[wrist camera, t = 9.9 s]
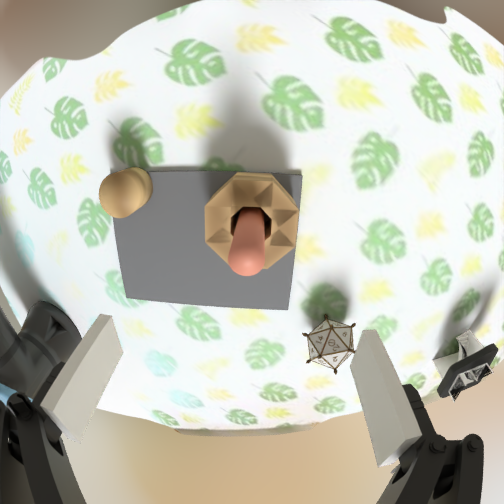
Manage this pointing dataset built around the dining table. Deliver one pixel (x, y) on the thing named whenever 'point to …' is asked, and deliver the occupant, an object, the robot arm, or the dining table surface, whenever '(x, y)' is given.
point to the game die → (330, 343)
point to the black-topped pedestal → (464, 365)
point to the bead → (252, 195)
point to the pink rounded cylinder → (248, 242)
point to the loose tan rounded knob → (125, 191)
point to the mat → (194, 248)
